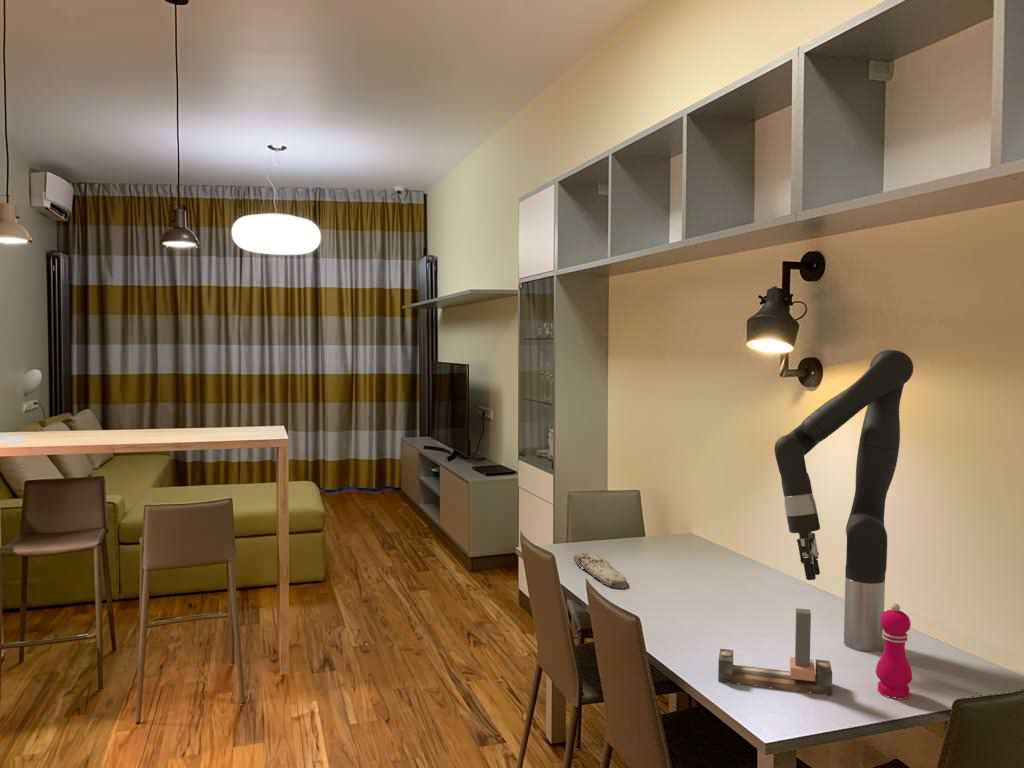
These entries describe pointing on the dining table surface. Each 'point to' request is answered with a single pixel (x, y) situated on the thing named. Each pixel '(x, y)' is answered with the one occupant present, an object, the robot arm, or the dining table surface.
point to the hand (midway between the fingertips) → (813, 577)
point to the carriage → (802, 648)
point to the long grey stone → (600, 569)
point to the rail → (774, 676)
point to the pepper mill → (894, 654)
